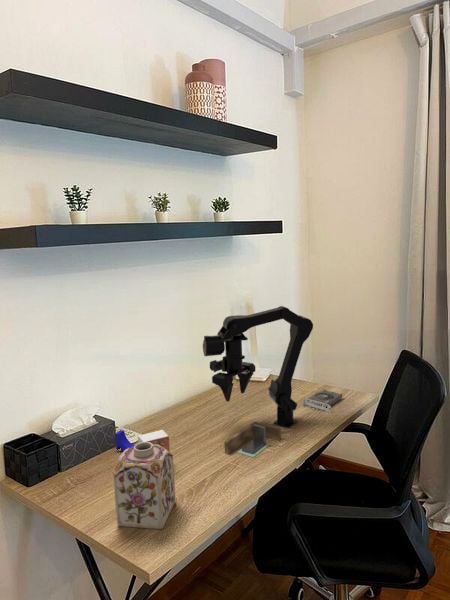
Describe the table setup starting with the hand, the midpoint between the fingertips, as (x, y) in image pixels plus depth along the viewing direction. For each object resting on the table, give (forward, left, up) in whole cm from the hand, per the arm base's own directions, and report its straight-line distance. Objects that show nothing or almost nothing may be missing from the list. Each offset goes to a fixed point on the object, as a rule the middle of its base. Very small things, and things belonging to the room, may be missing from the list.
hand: (235, 397), depth 158 cm
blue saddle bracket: (+30, -19, -12) cm, 37 cm away
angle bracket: (+8, +13, -12) cm, 19 cm away
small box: (+35, -5, -12) cm, 37 cm away
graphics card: (-39, +16, -13) cm, 44 cm away
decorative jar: (+52, +9, -12) cm, 54 cm away
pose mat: (+9, +13, -12) cm, 20 cm away
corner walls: (+7, +12, -12) cm, 18 cm away
